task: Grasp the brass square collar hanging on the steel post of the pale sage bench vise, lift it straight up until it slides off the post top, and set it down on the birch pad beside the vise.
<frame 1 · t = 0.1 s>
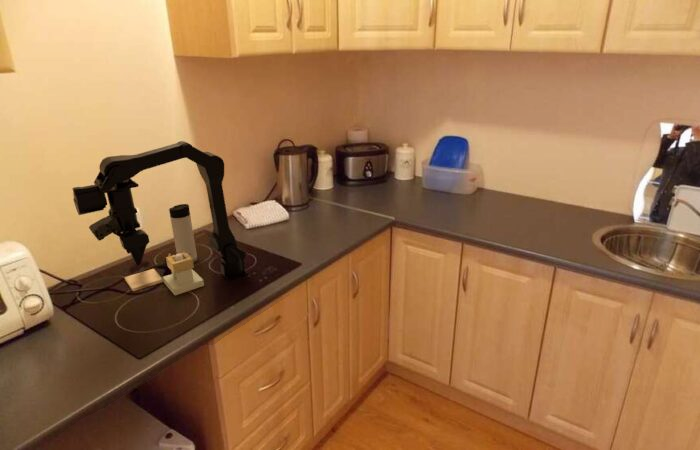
hand: (133, 258, 127), 15 cm above the cooktop, fingers open, 9 cm apart
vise: (183, 284, 143), on the cooktop
travel mug: (188, 260, 158), on the cooktop
collar: (180, 266, 141), point 6 cm above the cooktop, touching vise
pad: (144, 280, 145), on the cooktop
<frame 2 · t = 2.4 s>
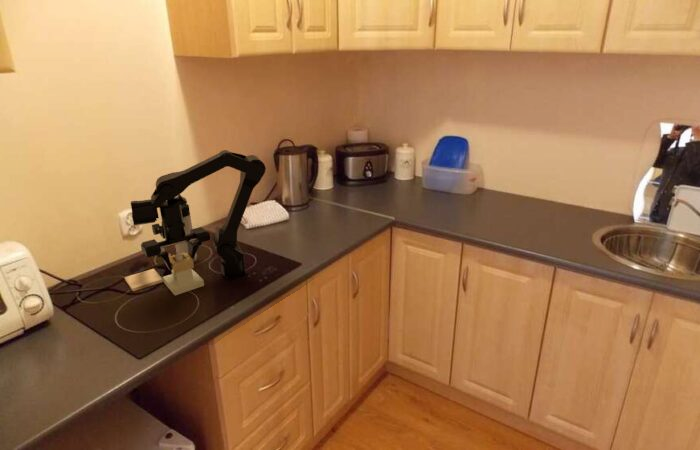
hand: (180, 266, 141), 6 cm above the cooktop, fingers closed on collar, 6 cm apart
collar: (180, 266, 141), point 6 cm above the cooktop, touching gripper, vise
everything else where it was.
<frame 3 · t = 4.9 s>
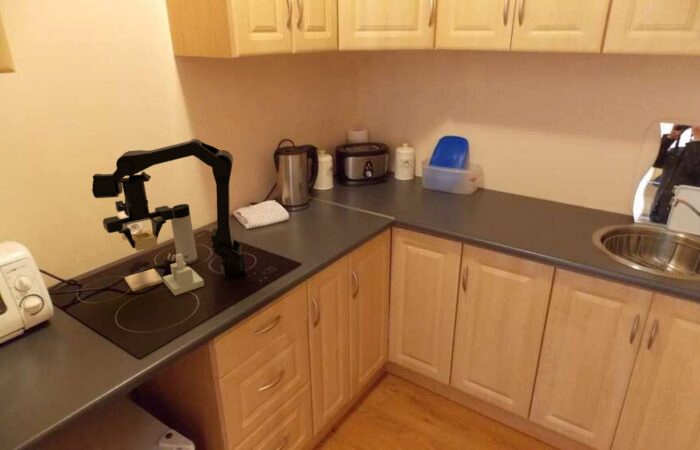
hand: (144, 245, 140), 13 cm above the cooktop, fingers closed on collar, 6 cm apart
collar: (144, 245, 140), point 13 cm above the cooktop, touching gripper
everything else where it was.
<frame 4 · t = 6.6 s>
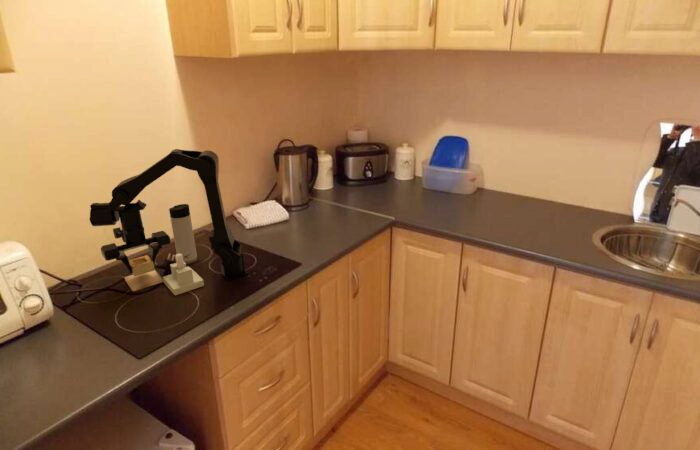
hand: (141, 269, 144), 4 cm above the cooktop, fingers closed on collar, 6 cm apart
collar: (141, 269, 144), point 4 cm above the cooktop, touching gripper
everything else where it was.
when the fingers open (2 cm above the cooktop, at t = 7.9 s): collar drops 1 cm, resting on pad.
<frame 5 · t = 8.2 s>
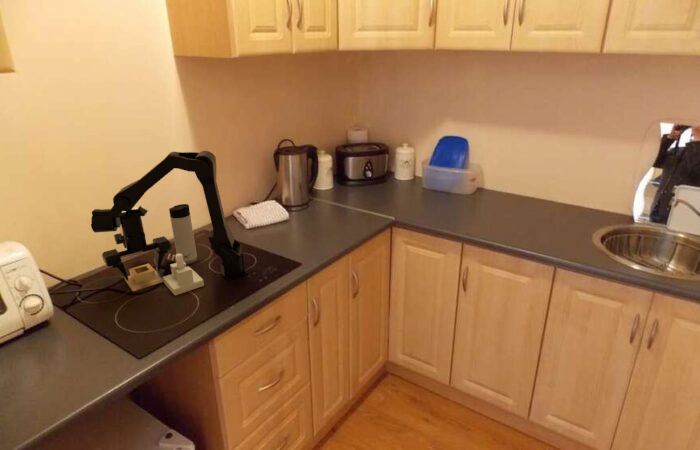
hand: (142, 275, 144), 2 cm above the cooktop, fingers open, 9 cm apart
collar: (143, 278, 145), point 1 cm above the cooktop, touching pad
everything else where it was.
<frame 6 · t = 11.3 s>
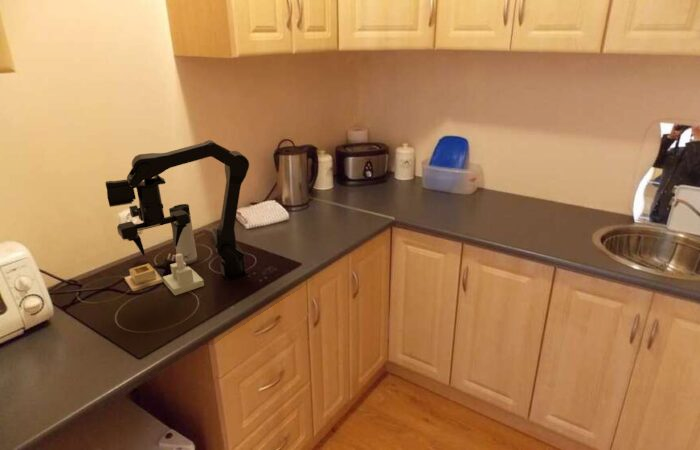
hand: (159, 250, 135), 13 cm above the cooktop, fingers open, 9 cm apart
nothing on the cooktop moved.
at the end: collar 0.1 cm off-centre on the pad, point 1.0 cm above the pad's base; collar tilted 0°; the gripper is holding nothing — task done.
